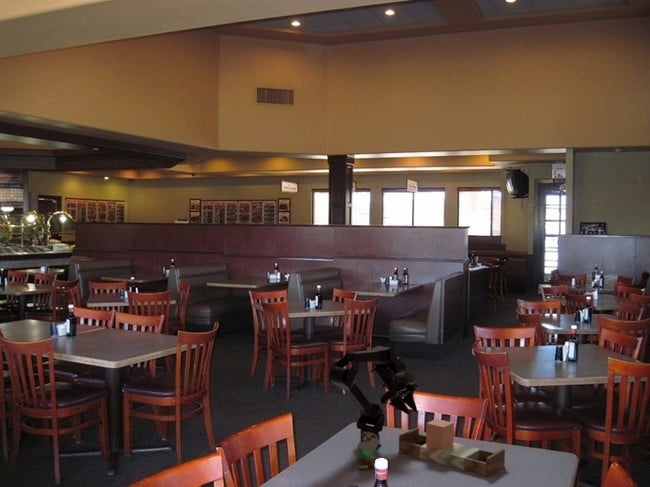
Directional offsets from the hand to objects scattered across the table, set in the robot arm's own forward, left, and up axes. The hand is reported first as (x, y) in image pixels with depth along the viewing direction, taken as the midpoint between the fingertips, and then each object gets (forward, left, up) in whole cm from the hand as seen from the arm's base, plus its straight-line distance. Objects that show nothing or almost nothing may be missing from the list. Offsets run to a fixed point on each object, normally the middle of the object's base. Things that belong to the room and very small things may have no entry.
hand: (412, 412), depth 238 cm
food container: (-1, -24, -14) cm, 28 cm away
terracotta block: (+12, 0, -10) cm, 15 cm away
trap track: (+16, 0, -14) cm, 21 cm away
